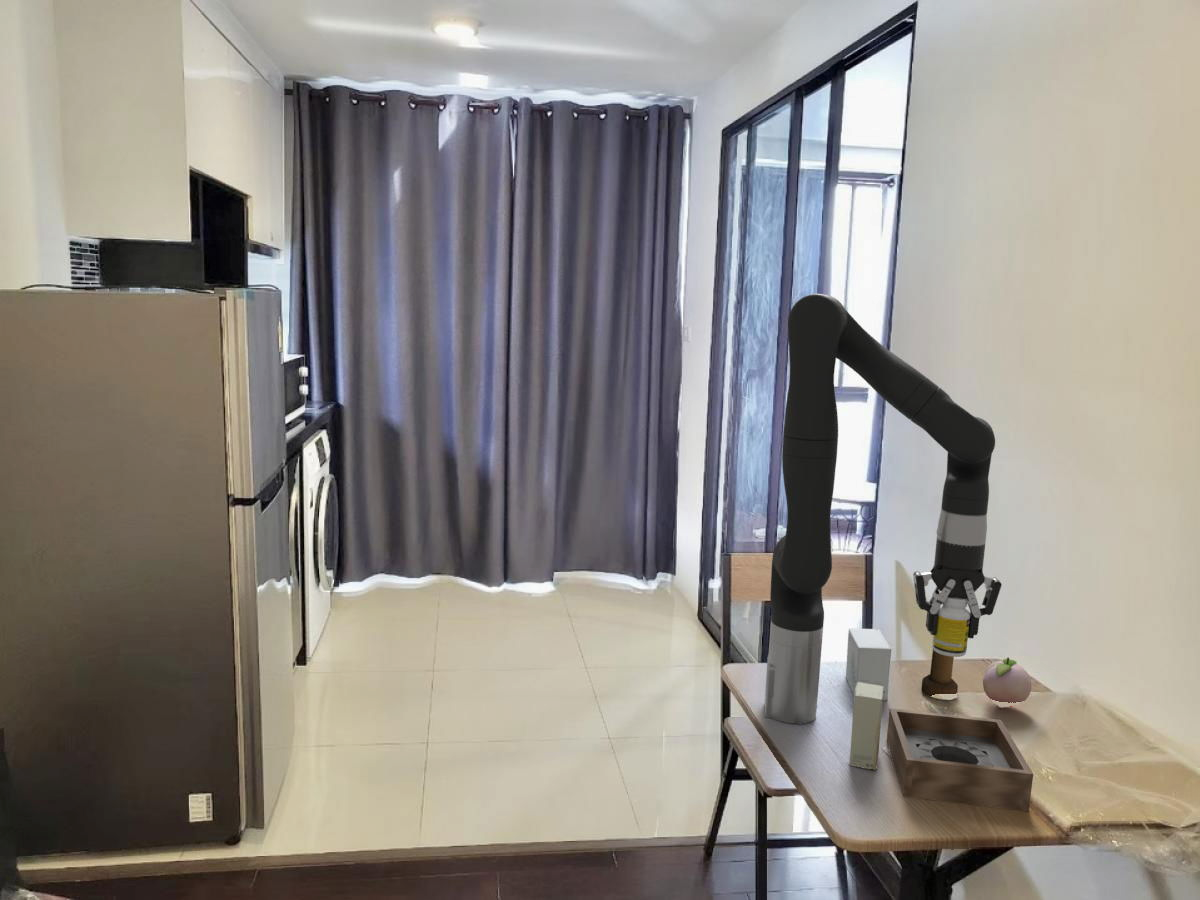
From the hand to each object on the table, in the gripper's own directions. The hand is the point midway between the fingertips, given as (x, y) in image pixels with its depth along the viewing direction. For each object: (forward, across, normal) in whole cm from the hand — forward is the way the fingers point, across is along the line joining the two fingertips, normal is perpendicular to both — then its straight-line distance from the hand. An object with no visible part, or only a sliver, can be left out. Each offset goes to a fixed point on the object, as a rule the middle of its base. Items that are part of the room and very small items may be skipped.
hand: (951, 634), depth 151 cm
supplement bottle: (+3, 0, 0) cm, 3 cm away
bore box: (+19, 0, -11) cm, 22 cm away
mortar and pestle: (+20, +4, +21) cm, 29 cm away
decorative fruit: (+20, +15, +17) cm, 30 cm away
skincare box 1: (+20, -10, +21) cm, 30 cm away
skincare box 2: (+20, -14, -9) cm, 26 cm away
